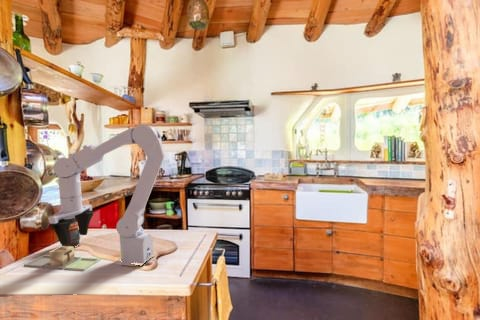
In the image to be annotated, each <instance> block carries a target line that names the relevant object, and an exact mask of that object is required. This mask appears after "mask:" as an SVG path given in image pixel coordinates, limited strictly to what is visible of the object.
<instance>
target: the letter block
mask: <svg viewBox="0 0 480 320" xmlns="http://www.w3.org/2000/svg"><path fill="white" fill-rule="evenodd" d="M48 252H49V254H48V255H50V265H51V266H65V265H67V264H68V263H70V262H72V261H74V260H75V257H76V256H75V248H74V247H73V246H62V245H61V246H59V247H57V248H55V249H52V250H50V251H48Z"/></svg>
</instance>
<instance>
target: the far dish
mask: <svg viewBox="0 0 480 320" xmlns="http://www.w3.org/2000/svg"><path fill="white" fill-rule="evenodd" d="M49 263H50V254H44V255H41V256H39V257H37V258H34V259H33V260H31V261H28V262H26V263H24V264H23V266H24V267H30V268H32V267H33V268H43V269H44V266H45V265H47V264H49Z"/></svg>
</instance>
